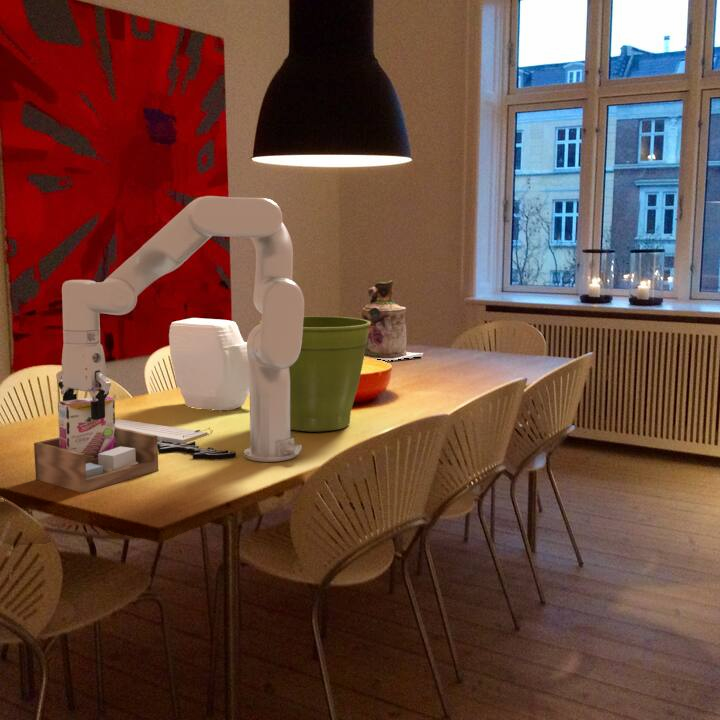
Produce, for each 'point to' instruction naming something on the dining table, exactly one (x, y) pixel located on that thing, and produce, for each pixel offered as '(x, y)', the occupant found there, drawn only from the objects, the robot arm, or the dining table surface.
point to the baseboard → (162, 431)
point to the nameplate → (193, 450)
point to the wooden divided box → (71, 465)
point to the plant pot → (326, 372)
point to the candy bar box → (86, 427)
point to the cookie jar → (385, 325)
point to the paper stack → (210, 363)
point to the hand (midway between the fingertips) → (84, 415)
